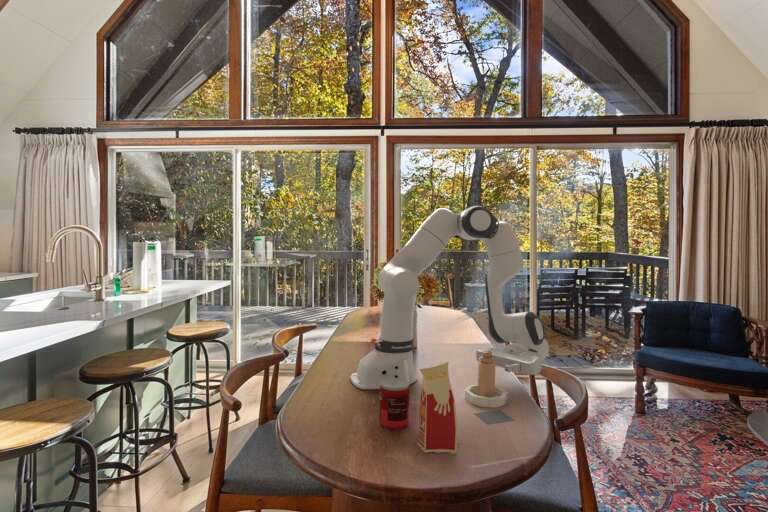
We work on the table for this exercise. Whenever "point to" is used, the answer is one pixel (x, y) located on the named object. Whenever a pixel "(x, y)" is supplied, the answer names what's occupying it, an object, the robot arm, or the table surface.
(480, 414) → the felt mat
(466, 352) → the table surface
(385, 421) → the canned food
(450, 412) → the milk carton
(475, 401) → the bowl
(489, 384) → the tan knobbed cylinder
